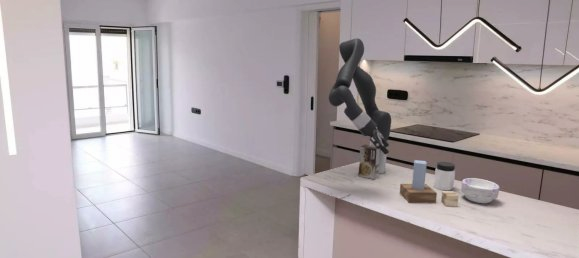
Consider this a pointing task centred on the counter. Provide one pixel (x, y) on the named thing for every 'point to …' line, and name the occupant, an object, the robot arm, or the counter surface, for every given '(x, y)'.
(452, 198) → the maple cube
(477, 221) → the counter surface
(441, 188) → the jar
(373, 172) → the coffee box
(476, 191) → the paper bowls
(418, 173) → the light blue block
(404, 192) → the walnut block
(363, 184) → the counter surface
